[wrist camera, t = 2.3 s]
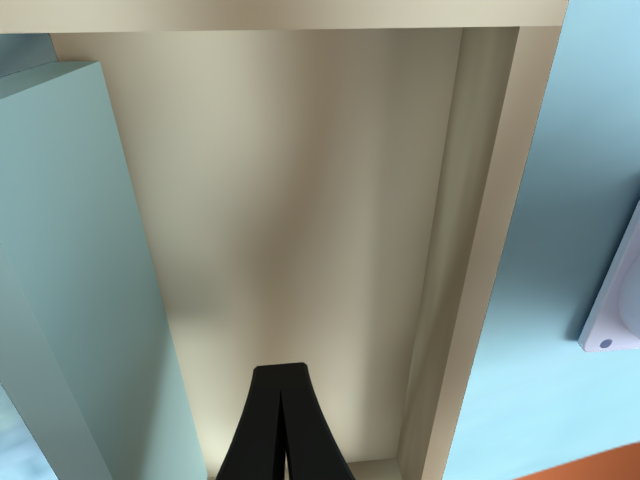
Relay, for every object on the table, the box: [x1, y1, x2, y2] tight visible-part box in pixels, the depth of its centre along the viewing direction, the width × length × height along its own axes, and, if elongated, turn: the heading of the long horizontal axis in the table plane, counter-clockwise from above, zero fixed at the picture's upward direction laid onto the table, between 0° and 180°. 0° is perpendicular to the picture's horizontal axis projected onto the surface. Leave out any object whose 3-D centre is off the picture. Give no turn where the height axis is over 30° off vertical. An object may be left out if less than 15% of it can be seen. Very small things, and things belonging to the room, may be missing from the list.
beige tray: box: [0, 0, 569, 480], centre depth 13 cm, size 10×21×4 cm, turn 0°
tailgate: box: [0, 61, 208, 480], centre depth 11 cm, size 1×16×5 cm, turn 0°
